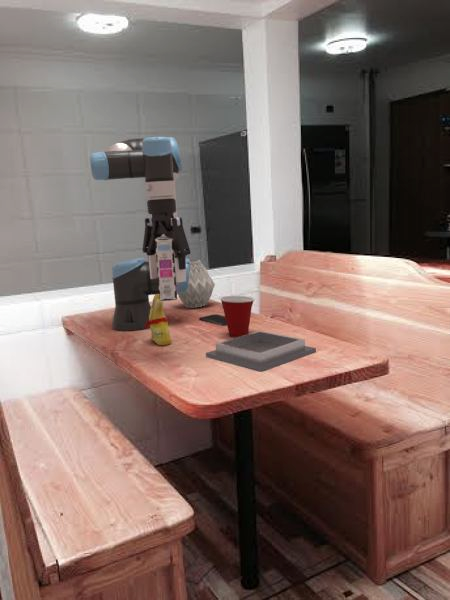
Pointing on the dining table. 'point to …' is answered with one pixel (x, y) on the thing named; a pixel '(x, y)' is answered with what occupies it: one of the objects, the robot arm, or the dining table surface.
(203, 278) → the vase
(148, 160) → the robot arm
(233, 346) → the grey square tray
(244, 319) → the plastic cup
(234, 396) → the dining table surface
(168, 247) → the candy bar box
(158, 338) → the chocolate bunny
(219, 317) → the phone
